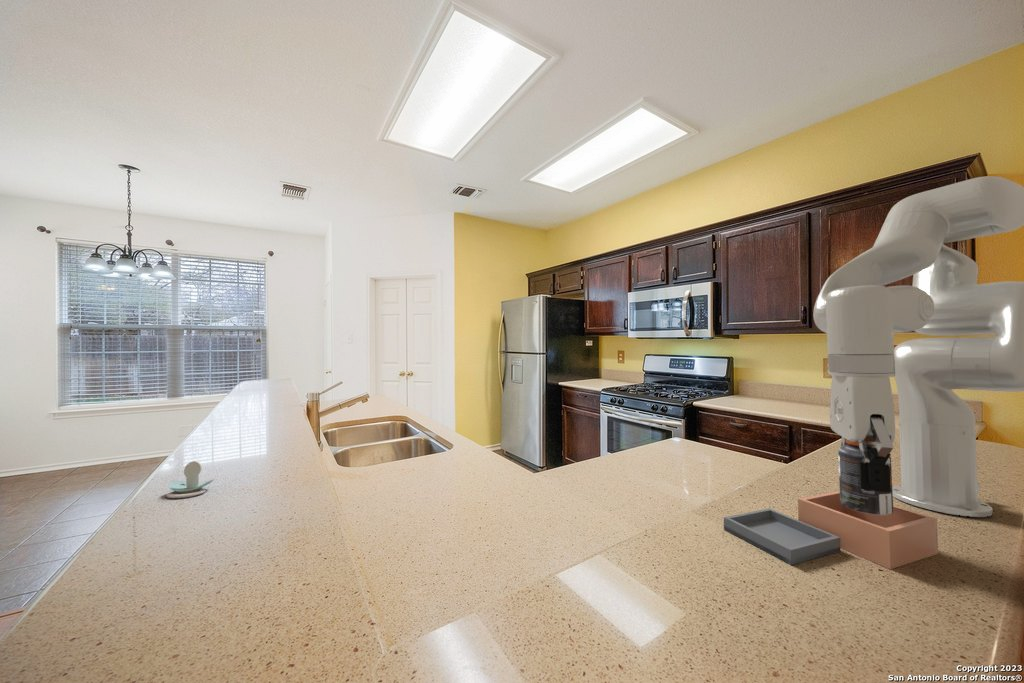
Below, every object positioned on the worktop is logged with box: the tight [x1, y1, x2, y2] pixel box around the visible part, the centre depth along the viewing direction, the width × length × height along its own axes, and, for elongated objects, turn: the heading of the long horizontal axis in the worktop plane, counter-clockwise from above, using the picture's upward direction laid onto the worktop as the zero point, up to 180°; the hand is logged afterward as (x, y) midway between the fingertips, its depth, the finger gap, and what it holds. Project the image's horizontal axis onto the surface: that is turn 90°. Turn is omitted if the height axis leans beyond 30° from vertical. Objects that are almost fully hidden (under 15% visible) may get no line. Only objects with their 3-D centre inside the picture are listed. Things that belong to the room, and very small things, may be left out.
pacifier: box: [166, 461, 215, 499], centre depth 74 cm, size 7×6×6 cm
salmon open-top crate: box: [797, 490, 939, 570], centre depth 56 cm, size 11×11×5 cm
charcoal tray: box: [723, 507, 842, 566], centre depth 56 cm, size 10×10×2 cm
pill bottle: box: [837, 438, 894, 516], centre depth 56 cm, size 6×6×11 cm
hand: (864, 481), depth 56 cm, fingers closed on pill bottle, 6 cm apart
